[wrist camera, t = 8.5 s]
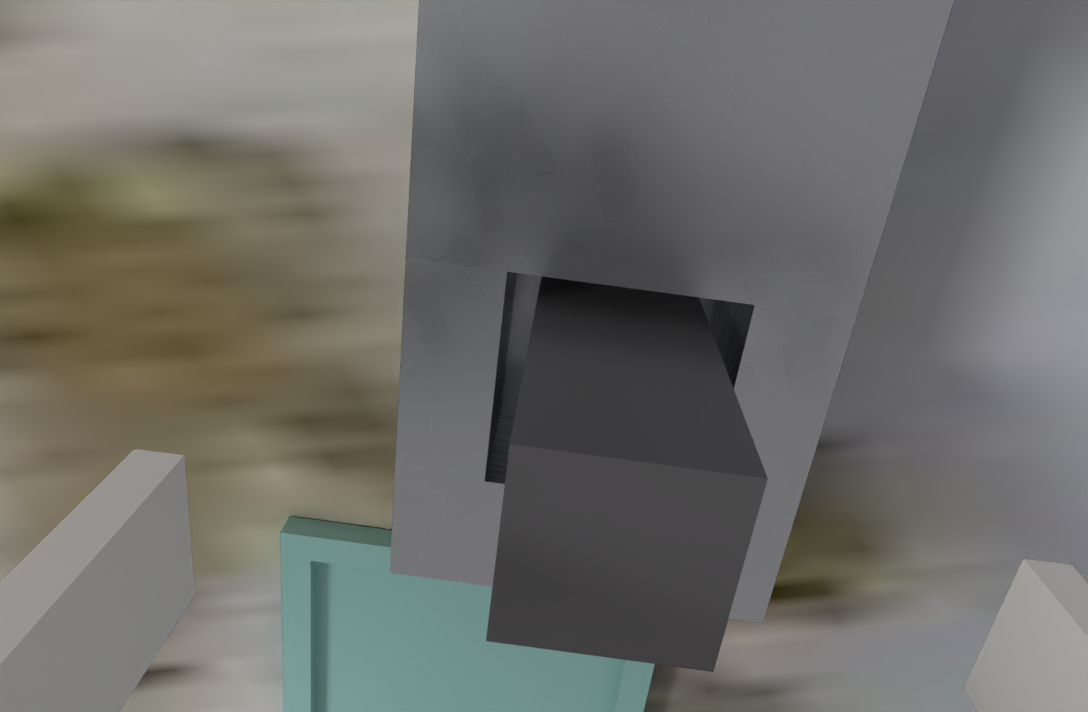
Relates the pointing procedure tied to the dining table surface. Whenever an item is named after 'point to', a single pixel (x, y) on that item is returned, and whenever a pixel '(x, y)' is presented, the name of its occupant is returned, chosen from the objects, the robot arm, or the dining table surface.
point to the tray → (417, 639)
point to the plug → (624, 482)
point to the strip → (641, 221)
